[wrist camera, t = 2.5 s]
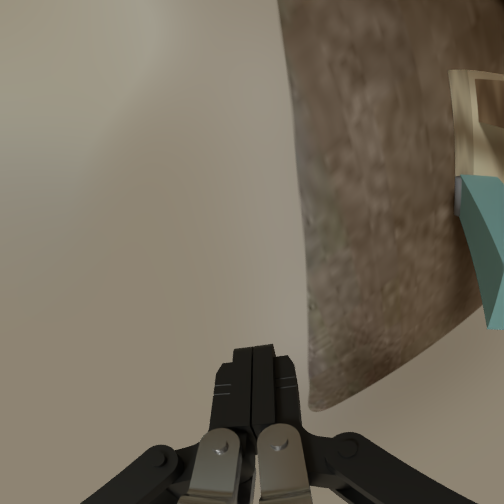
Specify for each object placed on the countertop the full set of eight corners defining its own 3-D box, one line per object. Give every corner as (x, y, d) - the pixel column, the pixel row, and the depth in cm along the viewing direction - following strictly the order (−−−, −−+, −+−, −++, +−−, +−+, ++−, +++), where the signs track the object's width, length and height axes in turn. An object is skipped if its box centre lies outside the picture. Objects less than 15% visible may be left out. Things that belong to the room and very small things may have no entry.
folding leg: (454, 173, 21) (495, 267, 10) (496, 176, 19) (563, 270, 8) (453, 213, 23) (478, 328, 12) (493, 216, 21) (542, 329, 10)
